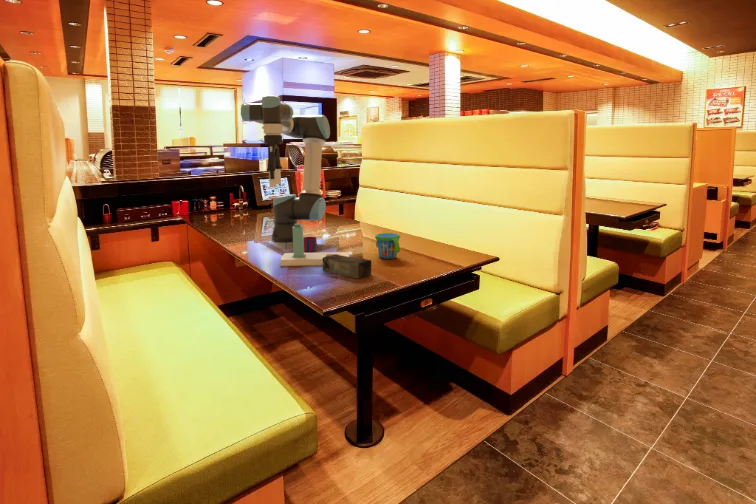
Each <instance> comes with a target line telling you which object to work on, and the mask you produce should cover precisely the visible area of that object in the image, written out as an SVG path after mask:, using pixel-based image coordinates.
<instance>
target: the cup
mask: <svg viewBox="0 0 756 504" xmlns="http://www.w3.org/2000/svg"><path fill="white" fill-rule="evenodd" d="M303 237H304V253H317V251H318V247H317V246H318V244H317V237H316V236H303Z"/></svg>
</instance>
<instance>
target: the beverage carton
mask: <svg viewBox="0 0 756 504" xmlns="http://www.w3.org/2000/svg"><path fill="white" fill-rule="evenodd" d="M322 259H323V265H322V271H325V272H329V273H334V274H336V275H338V276H343V277H348V278H353V279H359V280H360V279H363V278H367V277H369V276H372V260H371V259H366V258H358V257H351V256H349V257H347V256H341V255H336V254H335V255H331V256H330V255H327V256H326V257H323V258H322Z"/></svg>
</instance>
